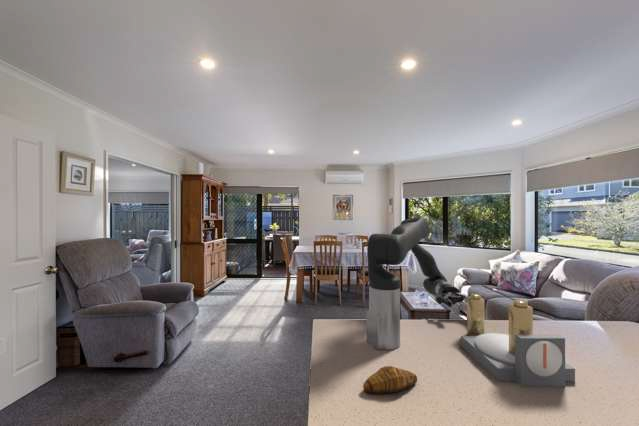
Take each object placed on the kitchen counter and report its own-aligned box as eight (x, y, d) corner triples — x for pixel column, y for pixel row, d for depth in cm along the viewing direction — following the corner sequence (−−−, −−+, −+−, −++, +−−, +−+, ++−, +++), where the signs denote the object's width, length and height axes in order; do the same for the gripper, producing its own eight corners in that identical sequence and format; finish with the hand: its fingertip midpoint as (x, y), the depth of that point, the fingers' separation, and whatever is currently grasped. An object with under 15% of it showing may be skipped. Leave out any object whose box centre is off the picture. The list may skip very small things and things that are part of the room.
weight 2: (525, 360, 69) (524, 305, 69) (504, 351, 74) (504, 300, 74) (537, 356, 71) (537, 303, 71) (516, 347, 76) (516, 297, 76)
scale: (505, 387, 65) (505, 339, 65) (461, 345, 86) (461, 309, 86) (585, 388, 65) (585, 339, 65) (521, 346, 85) (521, 309, 85)
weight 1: (477, 340, 89) (477, 298, 89) (463, 334, 94) (463, 293, 94) (488, 337, 91) (487, 296, 91) (473, 331, 96) (473, 292, 96)
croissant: (371, 404, 60) (371, 380, 60) (357, 385, 66) (357, 363, 66) (425, 391, 64) (425, 369, 64) (407, 375, 70) (407, 355, 70)
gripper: (429, 283, 119) (442, 293, 103) (465, 283, 118) (484, 294, 102) (429, 301, 119) (442, 314, 103) (465, 302, 118) (484, 316, 102)
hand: (463, 304), depth 102 cm, fingers open, 8 cm apart
